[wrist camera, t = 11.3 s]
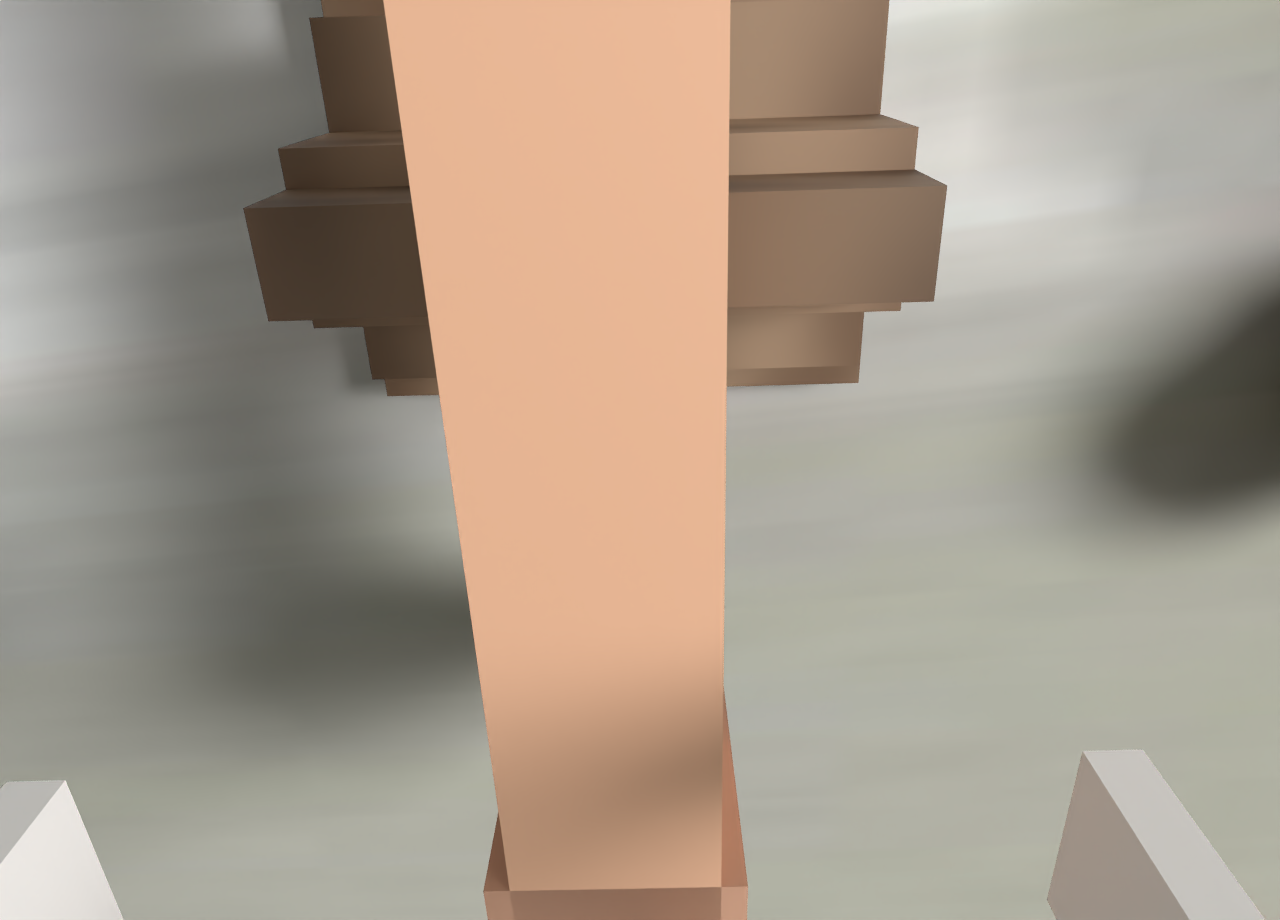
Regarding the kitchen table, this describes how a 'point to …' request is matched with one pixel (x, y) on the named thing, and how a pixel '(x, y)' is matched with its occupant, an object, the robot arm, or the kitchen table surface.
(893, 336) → the kitchen table surface
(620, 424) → the tan bench shape
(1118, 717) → the kitchen table surface
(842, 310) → the ridge stand
